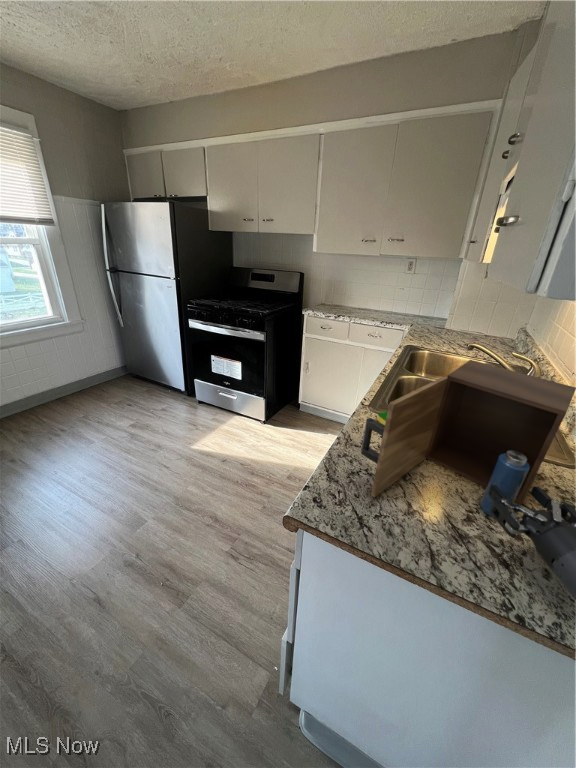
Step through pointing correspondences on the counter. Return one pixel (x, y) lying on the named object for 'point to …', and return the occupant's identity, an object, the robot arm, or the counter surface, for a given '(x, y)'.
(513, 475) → the water bottle
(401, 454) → the cupboard door
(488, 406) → the cupboard
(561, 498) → the counter surface
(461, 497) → the counter surface
